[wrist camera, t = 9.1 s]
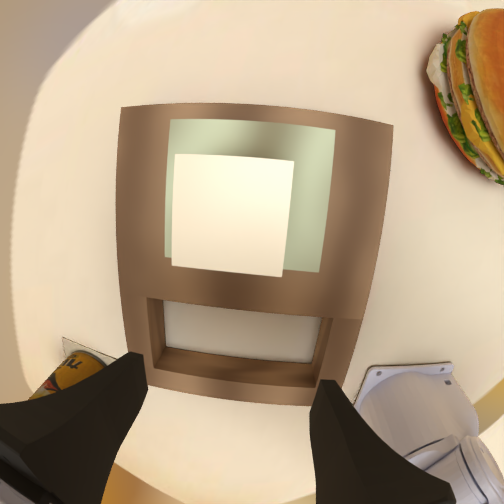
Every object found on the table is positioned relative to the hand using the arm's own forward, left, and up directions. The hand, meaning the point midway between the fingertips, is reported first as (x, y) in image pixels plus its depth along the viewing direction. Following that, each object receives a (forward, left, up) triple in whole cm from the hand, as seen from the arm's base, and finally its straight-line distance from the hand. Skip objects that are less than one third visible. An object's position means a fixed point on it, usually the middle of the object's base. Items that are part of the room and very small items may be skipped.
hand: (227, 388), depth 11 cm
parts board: (0, -2, -10) cm, 10 cm away
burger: (-17, -17, -11) cm, 26 cm away
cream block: (0, -7, -7) cm, 10 cm away
